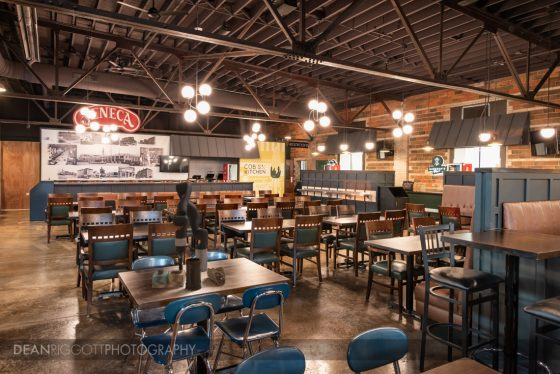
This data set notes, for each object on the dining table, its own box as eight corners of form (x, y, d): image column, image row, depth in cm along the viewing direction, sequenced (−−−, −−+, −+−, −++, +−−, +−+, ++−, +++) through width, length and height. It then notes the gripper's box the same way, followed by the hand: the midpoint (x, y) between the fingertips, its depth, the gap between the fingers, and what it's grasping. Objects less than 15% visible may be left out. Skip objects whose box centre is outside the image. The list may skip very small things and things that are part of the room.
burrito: (215, 287, 250) (215, 272, 250) (204, 277, 274) (204, 264, 274) (228, 285, 255) (228, 270, 255) (216, 276, 279) (216, 262, 278)
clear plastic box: (185, 281, 264) (184, 265, 264) (183, 286, 250) (182, 270, 250) (155, 282, 261) (155, 267, 261) (152, 288, 247) (152, 271, 247)
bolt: (183, 271, 258) (183, 262, 258) (182, 272, 256) (182, 263, 255) (170, 272, 257) (170, 262, 257) (170, 273, 254) (170, 263, 254)
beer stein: (186, 285, 253) (186, 257, 251) (202, 285, 253) (202, 256, 252) (182, 294, 237) (182, 263, 235) (199, 293, 238) (199, 263, 236)
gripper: (185, 246, 250) (185, 271, 250) (187, 242, 264) (187, 266, 264) (173, 246, 249) (174, 271, 249) (176, 243, 263) (176, 266, 263)
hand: (180, 268), depth 257 cm, fingers open, 5 cm apart
